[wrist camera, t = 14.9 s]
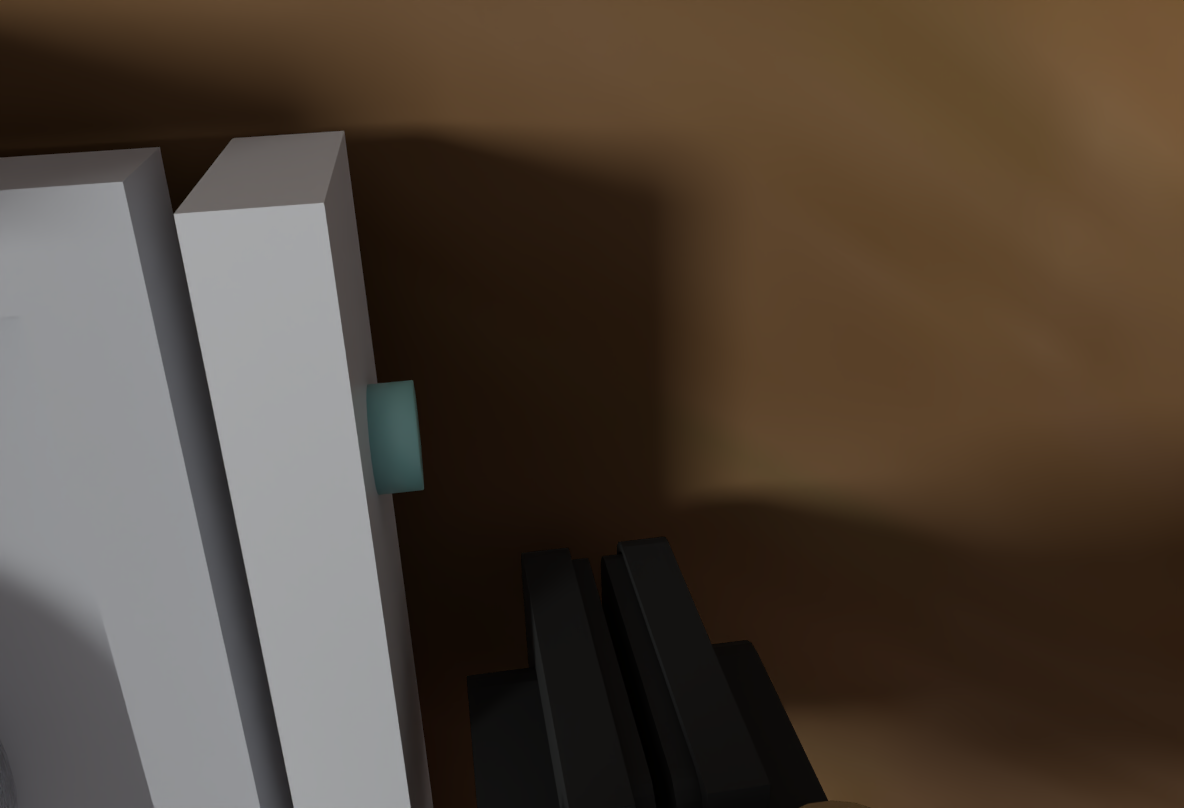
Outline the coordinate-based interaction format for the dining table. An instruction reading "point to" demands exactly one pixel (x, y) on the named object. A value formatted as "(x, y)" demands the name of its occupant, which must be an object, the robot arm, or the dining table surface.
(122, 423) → the tray
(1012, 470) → the dining table surface
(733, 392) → the dining table surface
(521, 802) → the robot arm
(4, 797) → the silver disc
